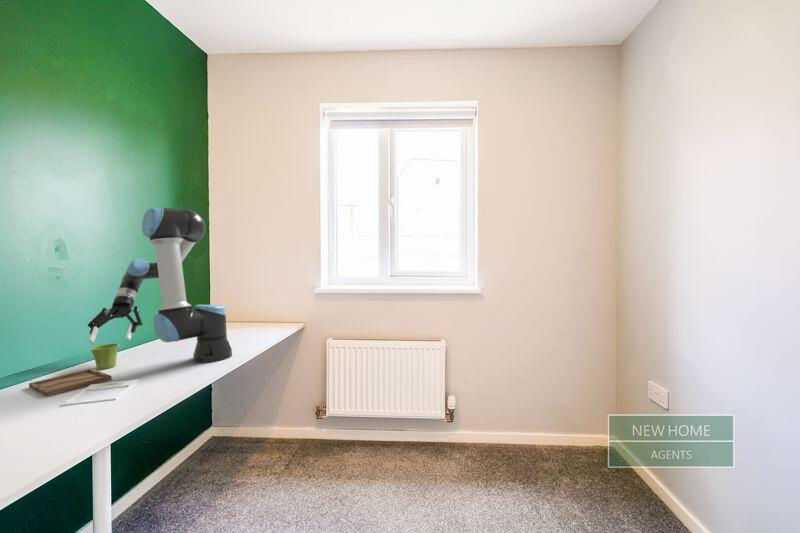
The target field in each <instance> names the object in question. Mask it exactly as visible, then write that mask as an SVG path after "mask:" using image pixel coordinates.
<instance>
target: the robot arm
mask: <svg viewBox="0 0 800 533" xmlns="http://www.w3.org/2000/svg"><path fill="white" fill-rule="evenodd" d="M141 222H142V223H141V230H142V233H143V236H145V237H146V238H148V239H149V242H150V243H151V244H152V245H154V248H155V250H154V251H155V258H156V262H148V261H146V260H145V259H141V258H136V259H133V260H132V261H131V262H130V263H129V264H128V266H127V269H126V272H124V274H123V276H122V279H121V283H120V285H119V286H118V287H119V288H118V290H117V293H116V294H115V297H114V299H113V302H112V304H111V305H112V306H111V308H107V307H103V308H102V309H101V311H100V312H99V313H98V314H97V315H96V316H95V317H94V318H93V319H91V321H89V322H88V323H89V324H88V323H87V326H88V328H89V327H90V328H91V329H90V328H89V329H90V330H89V335H90V336H89V338H88V341H89V342H90V343H91V344H94V342H95V340H96V338H97V336H98V334H99V331H100V330H99V328H101V327H102V326H104V325H105V324H107V323H108V322H110V321H112V320H114V319H119V318H120V319H121V318H122V319H124V318H125V317H126V319H127V320H128V321H129V322H130V324H129V327H128V329H127V332H126V334H125V339H126V340H127V341H131V339H132V336H133V333H134V334H135V332H136V331H137V327H138V326H143V321H142V319H141V316H140V309H139V307H138V306H135V305H134V304H135V301H136V298H137V295H138V293H139V289H140V287H141V284H142V283H143V281H144V280H148V279H149V280H151V279H152V280H153V279H158V281H159V288H160V299H161V306H160V307H159V308H158V310H157V311H158V313H157V314H156V315H154V317H153V321H152V322H153V328H154V332H155V334H156V336H157V338H158V339H159V340H160V341H161V342H163V343H172V342H180V341H183V340H188V339H192V338H193V339H194V338H196V343H195V344H196V345H195V348H194V351H193V357H192V358H193V362H196V363H211V362H218V361H222V360H223V361H224V360H226V359H229V358H230V357H232V356H233V350H232V347H231V345H230V342H229V340H228V335H227V313H226V308H225V306H223V305H219V304H195V306H194V309H192V304H191V303H189V302H188V301H187V293H186V284H185V277H184V269H183V261H184V260H185V259H186V257H187V255H188V254H189V253H190V252H191V250H192V249H193V247H195V246H194V245H196V243H199V242H200V241H202V239H203V237H204V236H205V234H206V229H207V228H206V222H205V221H204V219H203V217H202V216H201V215H200V214H199V213H198V212H197V211H194V210H191V209H186V208H183V209H182V208H171V207H169V208H168V207H150V208H148V209H146V211H145V213H144V215H143V217H142V221H141ZM131 312H133V313H134V316H135V319H136V321H135V319H133V318H132V316H131V315H130V313H131ZM93 323H94V324H93Z"/></svg>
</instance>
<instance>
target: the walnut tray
mask: <svg viewBox="0 0 800 533" xmlns="http://www.w3.org/2000/svg"><path fill="white" fill-rule="evenodd" d="M112 379H113V378H112V375H110V374H108V373H105V372H102V371H99V370H96V369H94V368H89V369H84V370H80V371H76V372H72V373H67V374H63V375H60V376H59V375H58V376H55V377H54V376H53V377H50V378H46V379H41V380H38V381H33V382H30V383H28V387H30V388H29V389H31V388H32V389H33V391H34V390H35V392H36V391H37V393H38V392H39V394H40V393H41V394H40V395H42V394H43V395H42V396H44V395H45V396H44V397H46V396H47V397H46V398H49V397H48V396H50V397H53V396H52V395H54V396H56V394H58V395H60V393H61V394H64V392H65V393H68V391H69V392H73V391H77V390H79V389H85V388H87V386H90V385H91V384H98V383H99V384H101V383H102V382H103V383H107V382H110V381H112ZM109 380H110V381H109ZM32 389H31V390H32ZM72 390H73V391H72Z"/></svg>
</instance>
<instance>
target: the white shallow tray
mask: <svg viewBox="0 0 800 533" xmlns="http://www.w3.org/2000/svg"><path fill="white" fill-rule="evenodd" d="M136 382H137V383H138V382H139V379H132V380H122V381H109V382H103V383H99V384H91V385H90V386H88V387H84V388H83V389H82V390H80V391H79V392H77V393H76V394H74V395H73V396H71V397H70V398H69V399H67V400H65V401H63V402H62V403H61V404H60V407H65V405H67V406H74V405H82V404H91V403H92V404H93V403H98V402H99V403H101V402H110V401H116V400H118V399H119V398H120V397H121V396H122V395H124V394H125V393H126V392H127V391H129V390H130V389H131V388H132V387H133V386H134V385H136V384H137V383H136ZM135 383H136V384H135ZM127 386H128V387H127ZM118 387H119V388H125V389H123V390H122V391H121V392H119V394H117V395H116V396H115V397H110V398H102V399H101V398H100V399H93V400H92V399H91V400H84V401H83V400H82V401H76V402H75V401H74V402H72V401H73V400H74V399H76V398H78V397H79V396H80V395H82V394H83V393H85V392H90V391H99V390H108V389H116V388H118ZM129 388H130V389H129Z"/></svg>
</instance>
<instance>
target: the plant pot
mask: <svg viewBox="0 0 800 533" xmlns="http://www.w3.org/2000/svg"><path fill="white" fill-rule="evenodd" d="M119 346H120V344H119V343H108V344H102V345H96V346H92V347H91V348H90V349H89V351H91V353H92V354H93V360H94V362H95V366H96V369H97V370H104V369H111V368H114V367H116V365H117V358H118V357H117V355H118V349H119Z"/></svg>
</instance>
